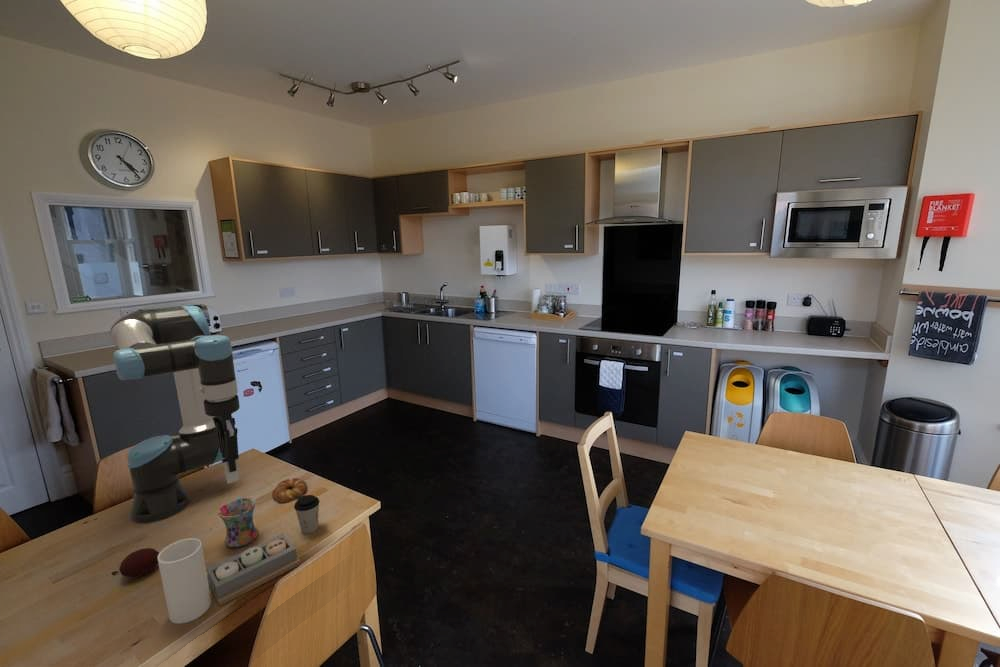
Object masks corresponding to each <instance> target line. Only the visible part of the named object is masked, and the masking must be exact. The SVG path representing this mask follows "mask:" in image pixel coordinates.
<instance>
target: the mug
mask: <svg viewBox="0 0 1000 667" xmlns="http://www.w3.org/2000/svg"><path fill="white" fill-rule="evenodd" d="M256 504H257V503H256V500H255V499H253V498H252V497H251V498H249V497H241V498H237V499H234V500H231V501H229V502H226V503H225V504H223V505H222V506H221V507H220V508H219V509H218V511H217V514H218V516H219V517H220V518H221V520H222V522H223V523H224V525H225V530H226V536H225V539H224V545H225V546H227V547H229V548H239V547H244V546H246V545H248V544H249V543H251V542H253V541H254V540H255V539H256V538H257V537H258V536H259V535H258V534H259V530H258V529H257V527H256V526H255V524H254V520H253V519H254V510H255V507H256Z"/></svg>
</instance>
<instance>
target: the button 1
mask: <svg viewBox="0 0 1000 667" xmlns="http://www.w3.org/2000/svg"><path fill="white" fill-rule="evenodd" d="M237 572H239V568H238V563H237V562H233V561H232V562H227V563H224V564H222V565H221V566H219V567H218V568H217V570H216V577H217V581H220V580H222V579H224V578H226V577H229V576H231V575H233V574H235V573H237Z"/></svg>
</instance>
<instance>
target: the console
mask: <svg viewBox="0 0 1000 667" xmlns="http://www.w3.org/2000/svg"><path fill="white" fill-rule="evenodd" d="M275 540H284V541H285V543H286V549H285V550H283V551H281V552H279V553H276V554H274V555H272V556H270V557H268V555H267V554H266V546H267V545H268V544H269V543H270V542H272V541H275ZM254 547H261V548H262V553H263V560H262V561H260V562H258V563H256V564H254V565H251V566H249V567H247V568H245V569H244V568H243V566H242V560H241V554H242V553H243V552H244V551H241V552H239V553H238V554H235V555H233V556H230V557H229V558H226V559H225V560H222V561H219V562H217V563H216V564H213V565H211V566H209V567H206V572H207V578H208V584H209V589H210V591H211V593H212V594H213V597H214V598H215V601H216V602H217V605H218V606H219V607H221V606H223V605H225V604H227V603H229V602H231V601H233V600H234V599H237V598H239V597H240V596H243V595H244V594H247V593H249V592H250V591H252V590H254V589H256V588H258V587H260V586H261V585H263V584H266V583H268V582H270V581H272V580H274V579H275V578H277V577H279V576H282V575H283V574H285V573H287V572H289V571H291V570H293V569H295V568H296V567H299V566H300V564H301V560H300V559H299V558H298V556H297V555H298V554H297V549H296V547H295V546H294V545H293V544H292V542H291V541H290V539H288V537H287V536H286V535H285V534H284V533H282V534H279V535H277V536H274V537H273V538H270V539H268V540H266V541H264V542H262V543H259V544H257V545H255V546H254ZM232 561H233V562H237V563H238V568H239V572H237V573H235V574H233V575H231V576H229V577H226V578H224V579H222V580H220V581H217V577H216V570H217V568H218V567H219V566H221V565H222V564H224V563H227V562H232ZM298 565H299V566H298Z"/></svg>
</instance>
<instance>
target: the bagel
mask: <svg viewBox="0 0 1000 667" xmlns="http://www.w3.org/2000/svg"><path fill="white" fill-rule="evenodd" d="M306 492H307V482H306V481H304V480H302V479H301V478H298V477H296V478H295V477H294V478H291V479H290V478H287V479H284V480H281V481H280V482H278V484H277V485H276V486H275V488H274V489H273V491H272V493H271V494H272V496H271V497H272V498H273V500H275V501H277V503H279V504H280V503H281V504H286V503H289V502H292V501H293V500H296V499H297V500H298V499H299V498H300V497H302V496H303V495H304V494H306Z"/></svg>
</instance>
